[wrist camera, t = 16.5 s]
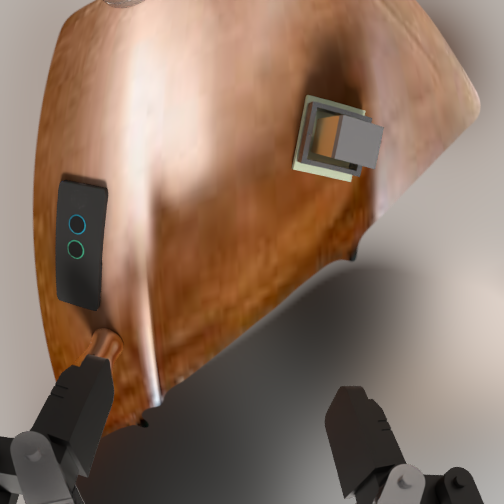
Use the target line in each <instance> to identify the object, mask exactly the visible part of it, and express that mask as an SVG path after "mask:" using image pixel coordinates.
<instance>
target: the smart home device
mask: <svg viewBox="0 0 504 504" xmlns="http://www.w3.org/2000/svg"><path fill="white" fill-rule="evenodd" d="M107 201H108V190H107V188H103V187H98V186H94V185H89V184H84V183H78V182H73V181H68V180H64V181H61V182H60V185H59V190H58V202H57V218H56V287H57V297H58V299H59V300H61V301H64V302H67V303H70V304H73V305H76V306H79V307H83V308H86V309H89V310H93V311H97V309H98V308H99V306H100V293H101V278H102V251H103V238H104V227H105V218H106V209H107Z"/></svg>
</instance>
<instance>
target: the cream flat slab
mask: <svg viewBox="0 0 504 504" xmlns="http://www.w3.org/2000/svg"><path fill="white" fill-rule="evenodd" d="M313 101H314V102H318V103H322V104H326V105H330V106H333V107H337V108H341V109H344V110H347V111H351V112H354V113H357V114H361V115H364V116H365V111H363V110H360V109H357V108H354V107H351V106H347V105H344V104H340V103H337V102H333V101H330V100H326V99H322V98H318V97H314V96H310V95H307V96H306V98H305V104H304V109H303V114H302V119H301V125H300V130H299V135H298V140H297V145H296V150H295V155H294V160H293V165H292V169H294V170H299V171H303V172H308V173H313V174H318V175H322V176H327V177H331V178H335V179H340V180H344V181H348V182H351V178H352V175H350V174H346V173H342V172H338V171H334V170H330V169H325V168H321V167H316V166H312V165H307V164H302V163H300V162H297V161H296V160H297V155H298V150H299V145H300V140H301V135H302V130H303V125H304V120H305V114H306V109H307V104H308V103H310V102H313ZM332 116H336V115H333V114H329V113H325V112H321V111H316V116H315V122H314V127H313V132H312V137H311V142H310V147H309V152H308V157H307V159H311V160H316V161H320V162H325V163H329V164H333V165H337V166H341V167H345V168H349V163H350V162H346V161H342V160H338V159H334V158H331V157H327V156H323V155H320V154H316V153H312V152H311V149H312V144H313V139H314V134H315V129H316V124H317V119H319V118H326V117H332Z"/></svg>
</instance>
